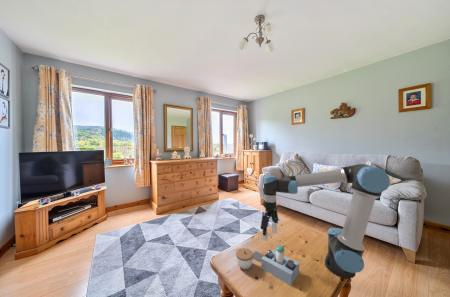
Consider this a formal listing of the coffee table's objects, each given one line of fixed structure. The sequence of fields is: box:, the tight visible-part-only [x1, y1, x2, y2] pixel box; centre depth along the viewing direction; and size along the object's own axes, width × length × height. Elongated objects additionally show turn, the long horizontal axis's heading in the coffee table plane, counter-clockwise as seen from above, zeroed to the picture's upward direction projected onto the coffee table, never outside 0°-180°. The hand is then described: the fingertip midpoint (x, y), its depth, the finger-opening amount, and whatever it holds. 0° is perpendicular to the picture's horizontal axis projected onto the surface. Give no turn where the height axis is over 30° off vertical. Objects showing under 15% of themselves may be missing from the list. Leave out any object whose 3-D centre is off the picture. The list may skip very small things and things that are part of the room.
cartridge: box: [275, 245, 285, 266], centre depth 97 cm, size 5×5×11 cm
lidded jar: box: [235, 247, 254, 270], centre depth 101 cm, size 11×11×9 cm
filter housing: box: [260, 249, 300, 286], centre depth 97 cm, size 12×18×6 cm, turn 46°
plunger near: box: [288, 259, 294, 271], centre depth 92 cm, size 3×3×4 cm
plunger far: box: [266, 249, 272, 259], centre depth 101 cm, size 3×3×4 cm
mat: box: [253, 250, 265, 262], centre depth 109 cm, size 7×7×1 cm
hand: (269, 236), depth 101 cm, fingers open, 10 cm apart
